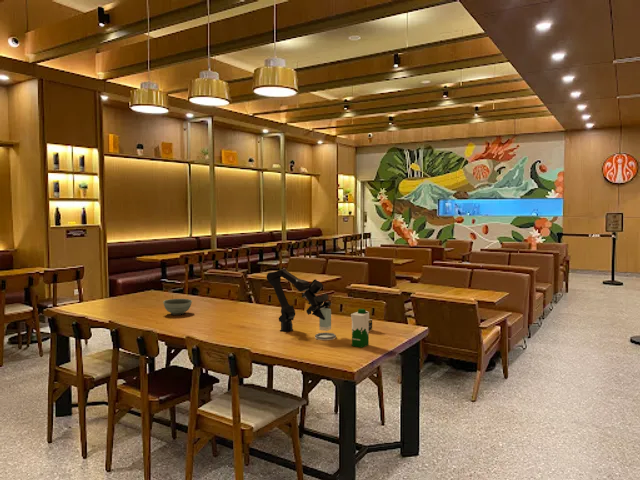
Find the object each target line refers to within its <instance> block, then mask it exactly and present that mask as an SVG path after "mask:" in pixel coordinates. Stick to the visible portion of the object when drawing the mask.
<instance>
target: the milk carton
mask: <svg viewBox="0 0 640 480" xmlns="http://www.w3.org/2000/svg"><path fill="white" fill-rule="evenodd" d="M365 311H366V309H365V308H358V310H357V312H356V311H355V312H353V313H351V314H350V318H351V347H356V348H365V347H367V346H369V344H370V343H369V342H370V341H369V340H370V339H369V336H370V335H369V334H370V333H369V332H370V331H369V319H370V312H369V313H365Z"/></svg>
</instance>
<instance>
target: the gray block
mask: <svg viewBox="0 0 640 480" xmlns="http://www.w3.org/2000/svg"><path fill="white" fill-rule="evenodd" d="M320 311H321V313H322V314H323V316H324V318H325V320H323V319H321V318H319V317H318V319H319V320H318V321H319V324H318V325H319V327H318V328H319V331H325V332H326V331H329V330H332V309H331V308H328V309H326V308H324V309H320Z"/></svg>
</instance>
